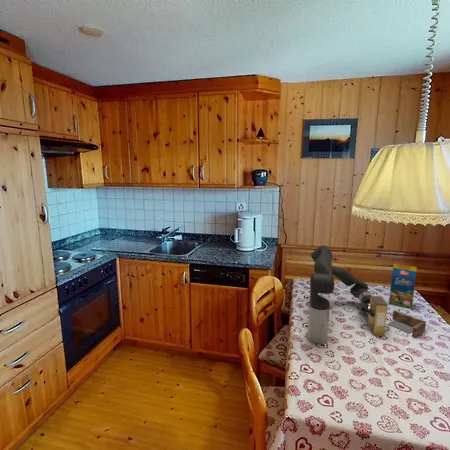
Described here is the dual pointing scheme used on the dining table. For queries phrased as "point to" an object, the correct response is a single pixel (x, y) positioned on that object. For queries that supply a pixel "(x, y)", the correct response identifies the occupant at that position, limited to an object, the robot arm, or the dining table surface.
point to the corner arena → (410, 322)
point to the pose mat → (401, 326)
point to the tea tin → (377, 315)
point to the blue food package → (402, 285)
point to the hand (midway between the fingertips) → (379, 315)
